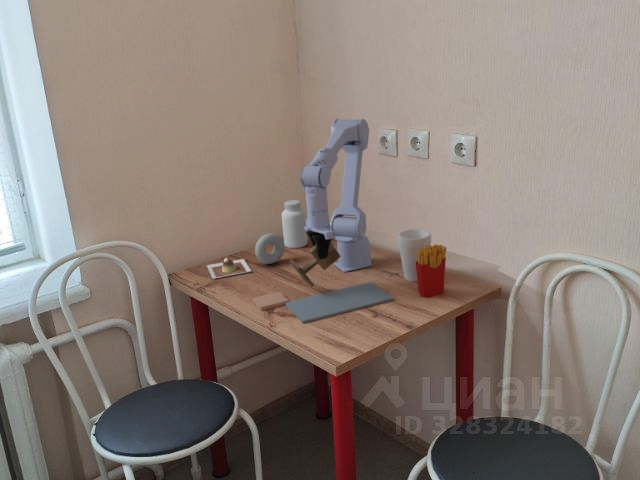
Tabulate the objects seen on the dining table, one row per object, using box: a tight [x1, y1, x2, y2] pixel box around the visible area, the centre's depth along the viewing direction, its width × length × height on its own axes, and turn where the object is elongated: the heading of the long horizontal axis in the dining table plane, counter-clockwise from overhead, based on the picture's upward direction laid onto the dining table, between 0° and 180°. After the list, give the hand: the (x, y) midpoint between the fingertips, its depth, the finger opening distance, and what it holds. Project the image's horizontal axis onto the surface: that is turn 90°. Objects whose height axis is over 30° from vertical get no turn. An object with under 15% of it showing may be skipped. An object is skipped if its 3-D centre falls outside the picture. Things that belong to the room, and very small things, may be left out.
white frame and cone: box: [206, 257, 252, 280], centre depth 203 cm, size 12×12×5 cm
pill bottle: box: [281, 199, 308, 249], centre depth 218 cm, size 8×8×15 cm
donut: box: [254, 232, 285, 265], centre depth 204 cm, size 10×4×10 cm, turn 122°
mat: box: [284, 281, 394, 324], centre depth 174 cm, size 26×13×1 cm, turn 113°
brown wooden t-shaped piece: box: [288, 241, 341, 288], centre depth 180 cm, size 12×7×7 cm
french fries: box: [415, 244, 447, 299], centre depth 173 cm, size 9×4×13 cm, turn 121°
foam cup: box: [397, 228, 432, 282], centre depth 185 cm, size 10×9×13 cm
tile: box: [251, 291, 289, 311], centre depth 178 cm, size 2×7×8 cm
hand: (321, 256), depth 180 cm, fingers closed on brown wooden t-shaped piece
